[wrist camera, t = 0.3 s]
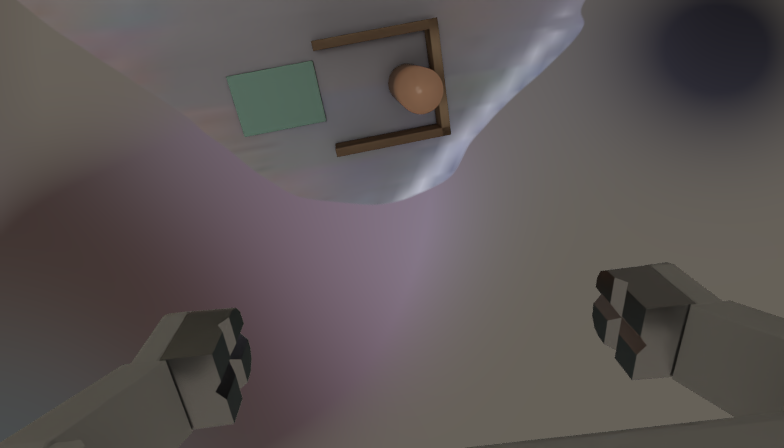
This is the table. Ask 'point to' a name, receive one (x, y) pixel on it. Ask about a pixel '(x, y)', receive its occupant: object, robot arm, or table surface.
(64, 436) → the robot arm
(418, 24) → the frame
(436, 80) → the terracotta canister
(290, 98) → the pad
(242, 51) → the table surface
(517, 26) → the table surface
